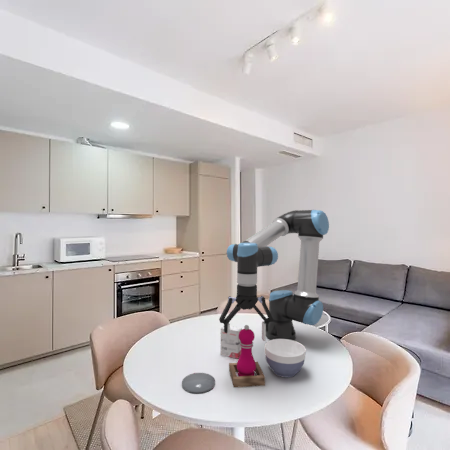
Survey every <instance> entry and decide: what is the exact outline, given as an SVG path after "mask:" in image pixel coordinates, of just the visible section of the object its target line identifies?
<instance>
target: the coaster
mask: <svg viewBox="0 0 450 450" xmlns="http://www.w3.org/2000/svg"><path fill="white" fill-rule="evenodd" d="M215 386H216V379H215V377H214V376H213V375H211V374H209V373H205V372H194V373H191V374H188V375H186V376H185V377H184V378H182V381H181V387H182V389H183V391H185V392H187V393H190V394H194V395H195V394H196V395H198V394H205V393H207V392H208V393H209V391H211V390H213V389H214V387H215Z"/></svg>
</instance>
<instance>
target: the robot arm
mask: <svg viewBox="0 0 450 450" xmlns="http://www.w3.org/2000/svg"><path fill="white" fill-rule="evenodd" d="M329 228H330V222H329V217H328V215H327V214H326V213H325V211H323V210H320V209H302V210H299V209H296V210H291V211H288V212H286V213H283V214H281V215H280V216H278V217H276V218H274V219H273V220H272V222H271V223H270V224H269V225H267V226H266V227H263V228H262V229H261V230H259V231H257V232H256V233H255V234H253V235H251V236H250V237H249V238H247V239H245V240H243V241H242V242H240V243H239V244H237V243H234V244H232V243H231V244H230V245H228V247H227V249H226V257H227V259H228V260H230V261H231V262H235V263H237V264H236V267H237V268H236V269H237V271H236V272H237V274H236V276H237V277H236V283H237V284H236V297H234V296H233V297H232V296H228V297H227V298H228V299H227V303H226V305H225V307H224V308H223V311H222V313H221V315H220V317H219V318H218V320H219V323H220V324H223V326H224V332H225V333H227V343H230V326H231V323H230V321H232V320H233V318H234V317H235V316H236V314H237V313H239V312H240V311H241V310H243V311H244V310H252V309H254V311H255V312H256V313H257V314H258V315H259V316H260V318H261V319H262V320H263V321H261V340H262V341H263V342H267V340H266V338H267V339H268V340H269V341H270V340H273V339H288V340H293V341H296V337H297V336H296V335H297V334H296V330H295V325H294V324H293V321H295V322H297V323H302V324H304V325H307V326H308V325H310V326H315V325H317V324H318V323H319V322H320V320H321V319H322V316H323V312H324V304H323V302H322V301H320V300H319V299H320V298H319V297H320V296H319V294H318V293H317V283H318V282H317V281H318V267H319V253H320V242H321V241H322V240H323V239H324V235H327V234H328V232H329V230H330V229H329ZM289 234H298V235H297V237H298V238H299V240H300V249H299V252H300V253H299V262H298V277H297V289H296V290H295V291H294V292H293V291H292V290H288V289H287V290H286V289H284V290H283V289H280V290H274V291H272V292H270V294H269V300H268V302H269V303H268V304H269V305H268V306H267V303H266V297H265V296H263V295H260V296H258V285H257V284H258V267H259V268H260V267H267V266H268V267H269V266H271V265H275V263H277V261H278V259H279V252H278V251H277V249H276V248H275V247H273V246H268V245H270V244H271V243H273V242H274V241H276V240H277V239H279V238H280V237H284V236H285V237H286V235H289ZM235 302H236V305H234V308H233V309H232V310H231V311H230V309H231V307H232V305H233V304H234V303H235ZM258 302H259V303H260V304H261V306H262V307H263V309H264V312H265V314H266V316H267V317H266V316H265V315H264V314H263V312H262V311H261V310H260V309H259V308H258V306H257V303H258ZM229 311H230V312H229ZM228 313H229V314H228Z"/></svg>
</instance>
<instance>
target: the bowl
mask: <svg viewBox="0 0 450 450" xmlns="http://www.w3.org/2000/svg"><path fill="white" fill-rule="evenodd" d="M265 342H266V343H265V344H264V355H265V360H266V362H267V364H268V367H269V368H270V370H272V372H273V373H274V374H275V375H276V374H277V376H278V375H279V377H281V376H283V378H292V377H295V376H296V375H297V373H299V372H300V371H301V369H302V368H303V366H304V364H305V359H306V352H307V349H306V346H305V345H304V344H302V343H300V342H299V341H296V340H288V339H273V340H270V339H269V340H268V341H265ZM295 374H296V375H295ZM294 375H295V376H294Z"/></svg>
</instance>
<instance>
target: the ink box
mask: <svg viewBox="0 0 450 450" xmlns="http://www.w3.org/2000/svg"><path fill="white" fill-rule="evenodd" d="M242 329H243V328H242V327H237V326H236V327H235V326H231V325H230V343H227V333H225V332H224V325H223V326H222V327H221V328H220V356H223V357H228V358H229V357H230V358H233V359H236V358H237V359H239V357H240V355H241V347H240V340H239V332H240V331H241V330H242ZM237 359H236V360H237Z"/></svg>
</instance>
